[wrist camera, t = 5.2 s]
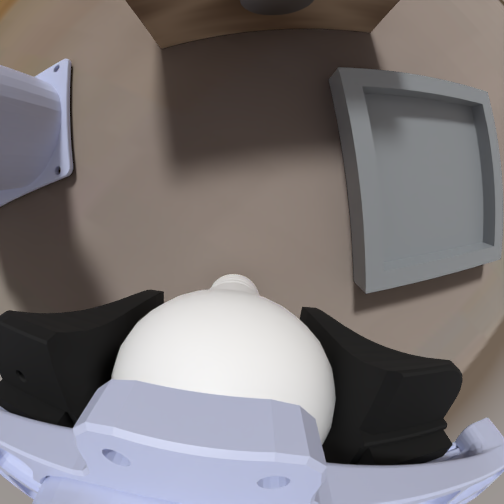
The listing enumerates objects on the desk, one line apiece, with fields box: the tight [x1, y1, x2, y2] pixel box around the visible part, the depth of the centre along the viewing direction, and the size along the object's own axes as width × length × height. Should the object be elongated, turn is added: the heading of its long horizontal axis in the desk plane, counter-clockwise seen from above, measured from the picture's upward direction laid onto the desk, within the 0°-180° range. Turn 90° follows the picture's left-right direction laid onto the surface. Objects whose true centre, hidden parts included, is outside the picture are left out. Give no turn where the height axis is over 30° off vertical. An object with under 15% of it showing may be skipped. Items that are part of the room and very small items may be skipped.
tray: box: [329, 67, 503, 294], centre depth 12 cm, size 11×11×2 cm
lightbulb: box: [111, 274, 336, 445], centre depth 9 cm, size 6×6×11 cm
